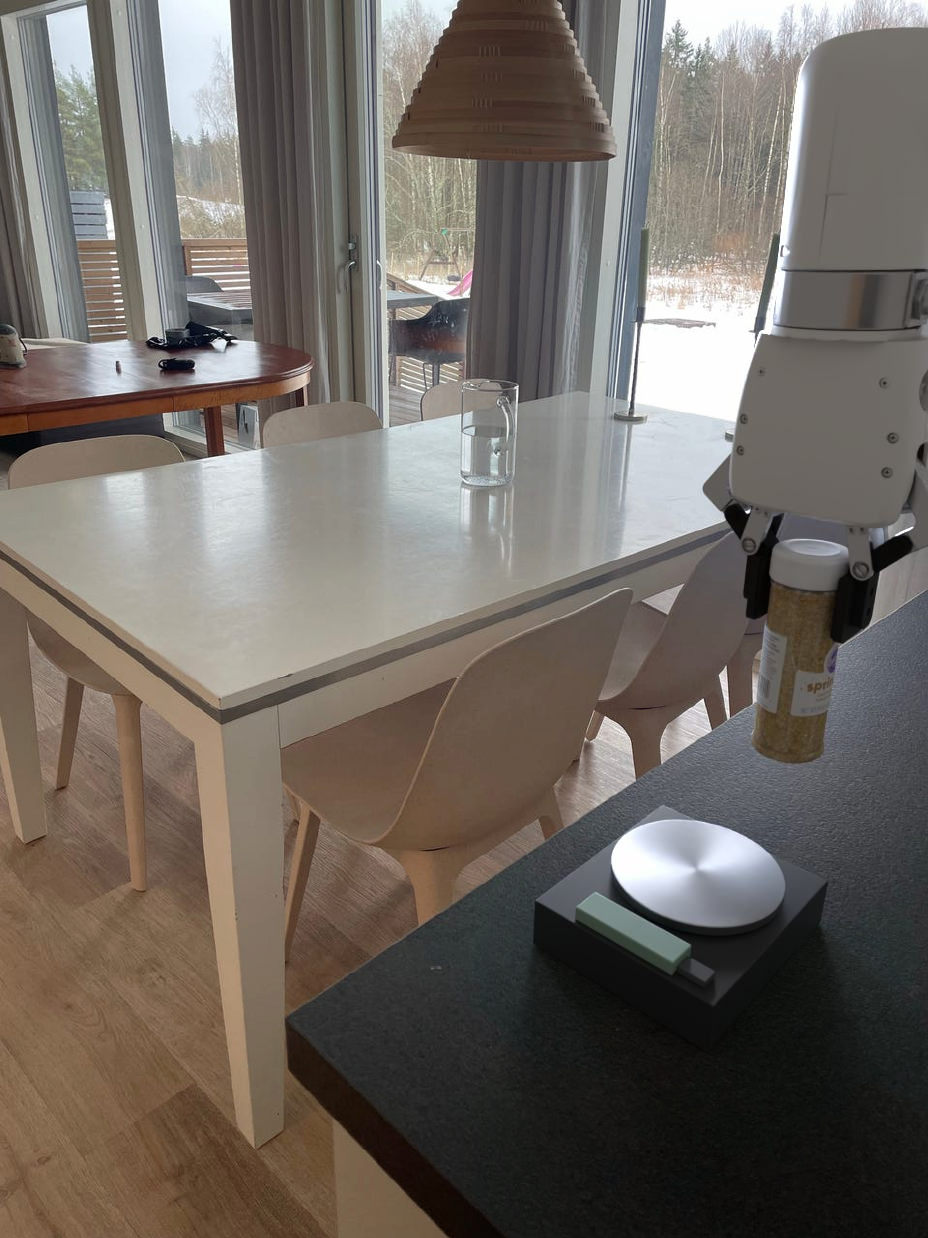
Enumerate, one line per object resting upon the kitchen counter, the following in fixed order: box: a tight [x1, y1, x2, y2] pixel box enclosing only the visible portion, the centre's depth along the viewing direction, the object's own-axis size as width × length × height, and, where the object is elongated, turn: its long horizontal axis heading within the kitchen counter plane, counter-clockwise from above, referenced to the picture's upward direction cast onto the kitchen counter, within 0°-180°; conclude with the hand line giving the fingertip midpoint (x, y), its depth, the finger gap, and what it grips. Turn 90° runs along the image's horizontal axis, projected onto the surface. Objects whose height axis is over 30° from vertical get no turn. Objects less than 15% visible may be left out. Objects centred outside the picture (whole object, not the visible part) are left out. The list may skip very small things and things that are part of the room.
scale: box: [532, 804, 829, 1053], centre depth 52 cm, size 13×11×4 cm
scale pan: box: [611, 820, 786, 936], centre depth 53 cm, size 10×10×1 cm
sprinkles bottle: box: [750, 538, 850, 765], centre depth 57 cm, size 5×5×13 cm
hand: (803, 621), depth 56 cm, fingers closed on sprinkles bottle, 4 cm apart
